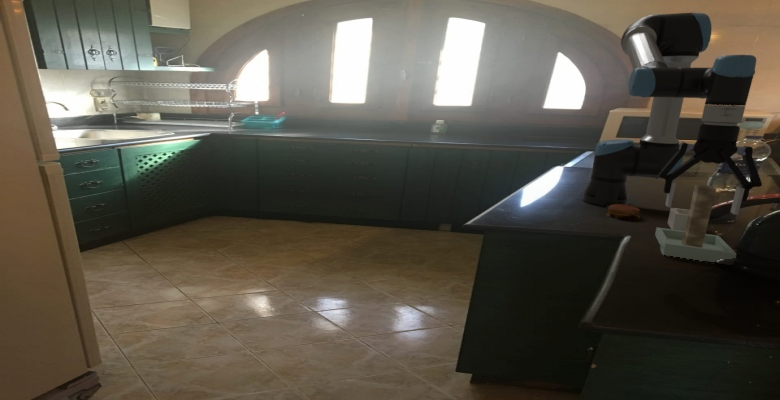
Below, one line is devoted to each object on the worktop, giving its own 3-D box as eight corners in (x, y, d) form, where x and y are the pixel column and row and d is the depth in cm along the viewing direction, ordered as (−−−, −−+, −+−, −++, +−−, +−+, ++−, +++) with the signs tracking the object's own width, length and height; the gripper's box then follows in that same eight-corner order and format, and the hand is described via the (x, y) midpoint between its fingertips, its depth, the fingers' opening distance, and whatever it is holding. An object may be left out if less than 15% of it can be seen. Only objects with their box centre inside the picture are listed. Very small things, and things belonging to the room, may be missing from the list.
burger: (603, 213, 135) (605, 200, 133) (633, 216, 132) (636, 203, 131) (609, 222, 125) (612, 208, 124) (642, 225, 123) (645, 211, 122)
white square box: (671, 233, 116) (675, 213, 114) (666, 226, 122) (670, 207, 121) (702, 237, 113) (707, 217, 111) (696, 230, 119) (700, 211, 118)
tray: (663, 255, 99) (665, 243, 98) (654, 238, 112) (656, 227, 111) (733, 266, 94) (736, 253, 93) (715, 247, 106) (718, 235, 105)
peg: (684, 247, 101) (698, 187, 97) (681, 243, 104) (695, 184, 100) (701, 250, 100) (716, 188, 96) (697, 245, 103) (712, 185, 99)
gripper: (661, 122, 96) (644, 206, 101) (797, 128, 86) (770, 221, 91) (656, 120, 102) (640, 199, 108) (781, 125, 92) (757, 212, 98)
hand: (700, 209), depth 100 cm, fingers open, 13 cm apart
